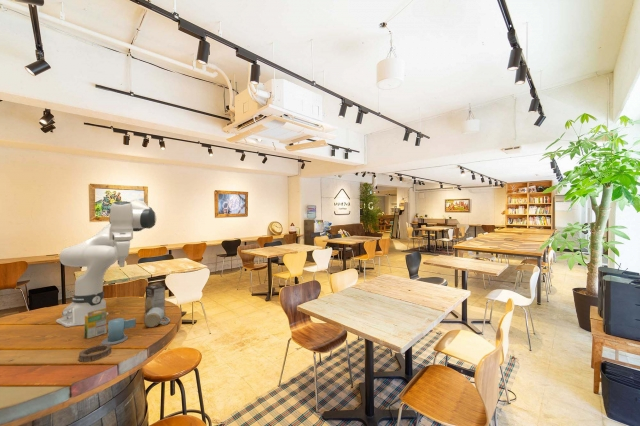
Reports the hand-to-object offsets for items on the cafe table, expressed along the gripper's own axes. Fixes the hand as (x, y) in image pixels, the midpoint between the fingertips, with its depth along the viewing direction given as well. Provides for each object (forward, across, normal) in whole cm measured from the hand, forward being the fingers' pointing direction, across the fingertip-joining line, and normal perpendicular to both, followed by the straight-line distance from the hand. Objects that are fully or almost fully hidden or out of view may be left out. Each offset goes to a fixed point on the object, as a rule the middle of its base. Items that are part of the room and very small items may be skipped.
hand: (120, 265), depth 123 cm
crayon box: (+31, -4, -8) cm, 33 cm away
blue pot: (+31, +8, 0) cm, 32 cm away
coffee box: (+31, -15, +16) cm, 39 cm away
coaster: (+31, +8, -2) cm, 32 cm away
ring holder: (+31, +19, -9) cm, 37 cm away
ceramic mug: (+31, -1, +15) cm, 35 cm away
